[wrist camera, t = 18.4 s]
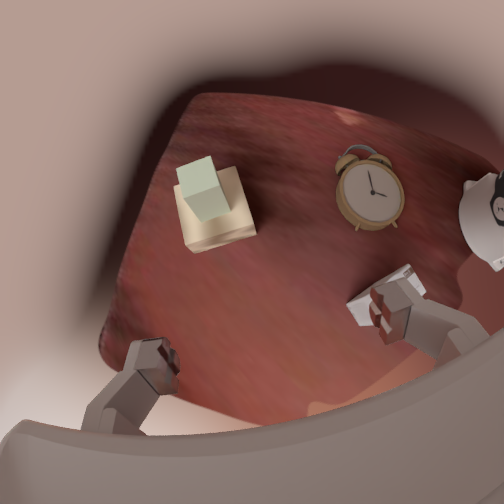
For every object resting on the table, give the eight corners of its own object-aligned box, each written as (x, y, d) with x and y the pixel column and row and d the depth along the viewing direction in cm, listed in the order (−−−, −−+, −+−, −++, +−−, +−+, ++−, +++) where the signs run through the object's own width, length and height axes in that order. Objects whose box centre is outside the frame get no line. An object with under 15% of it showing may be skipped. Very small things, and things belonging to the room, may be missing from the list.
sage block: (222, 185, 40) (210, 155, 32) (231, 212, 38) (219, 184, 31) (193, 196, 40) (176, 168, 32) (201, 222, 38) (183, 198, 31)
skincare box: (359, 327, 37) (391, 327, 25) (344, 302, 38) (370, 293, 27) (390, 303, 37) (429, 294, 26) (375, 279, 39) (409, 261, 27)
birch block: (239, 181, 45) (235, 165, 40) (256, 235, 42) (253, 223, 38) (183, 199, 45) (173, 186, 40) (195, 254, 43) (185, 245, 38)
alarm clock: (346, 230, 38) (330, 138, 39) (338, 235, 43) (325, 150, 44) (411, 225, 37) (392, 138, 39) (398, 230, 42) (383, 150, 43)
